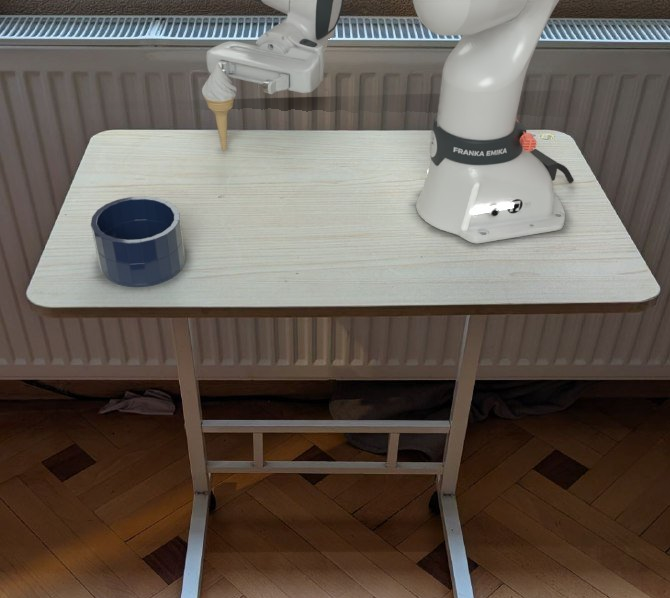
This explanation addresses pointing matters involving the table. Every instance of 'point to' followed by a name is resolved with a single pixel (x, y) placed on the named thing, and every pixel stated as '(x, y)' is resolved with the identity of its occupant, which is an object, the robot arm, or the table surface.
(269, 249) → the table surface
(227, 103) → the ice cream cone
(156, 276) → the pot
